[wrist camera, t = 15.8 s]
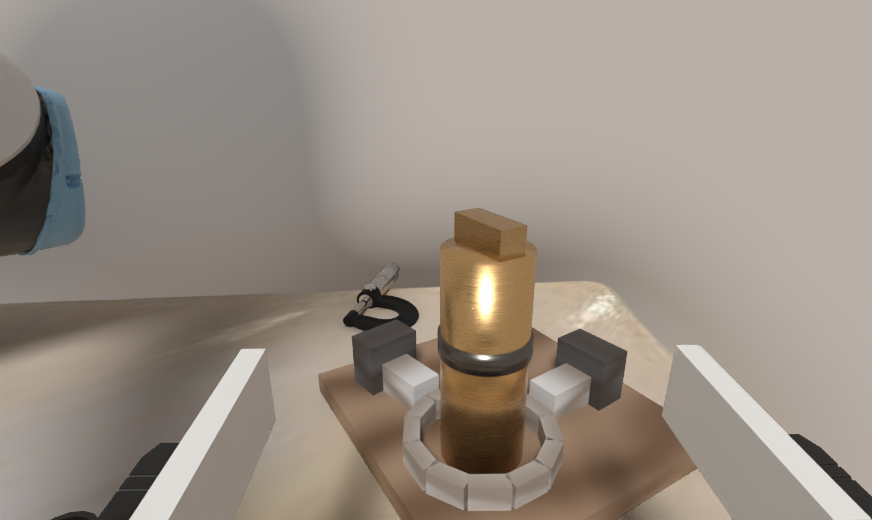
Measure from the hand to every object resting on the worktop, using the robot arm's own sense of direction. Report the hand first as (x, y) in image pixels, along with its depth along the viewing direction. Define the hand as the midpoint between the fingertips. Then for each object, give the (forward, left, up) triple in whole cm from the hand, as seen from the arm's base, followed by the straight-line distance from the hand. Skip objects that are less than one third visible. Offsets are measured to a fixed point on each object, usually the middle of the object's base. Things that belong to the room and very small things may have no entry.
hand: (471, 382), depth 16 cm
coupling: (-9, +7, -12) cm, 16 cm away
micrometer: (-33, +13, -14) cm, 39 cm away
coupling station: (-12, +10, -14) cm, 21 cm away
